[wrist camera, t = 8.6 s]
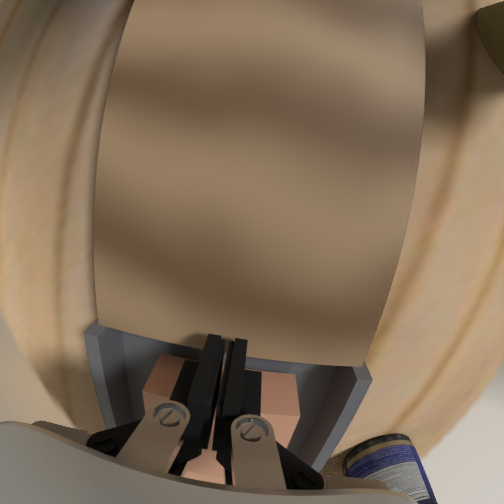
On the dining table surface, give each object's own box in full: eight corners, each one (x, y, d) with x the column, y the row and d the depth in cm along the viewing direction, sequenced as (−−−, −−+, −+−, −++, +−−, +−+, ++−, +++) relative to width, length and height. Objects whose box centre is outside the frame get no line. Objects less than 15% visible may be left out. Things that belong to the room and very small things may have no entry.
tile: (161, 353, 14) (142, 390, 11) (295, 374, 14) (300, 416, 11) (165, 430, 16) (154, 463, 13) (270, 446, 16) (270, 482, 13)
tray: (110, 305, 14) (84, 332, 12) (356, 345, 14) (372, 379, 12) (139, 467, 19) (130, 491, 16) (285, 491, 19) (286, 516, 16)
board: (178, -57, 8) (170, -75, 6) (401, -26, 8) (414, -42, 6) (115, 307, 14) (98, 324, 12) (351, 344, 14) (361, 366, 12)
